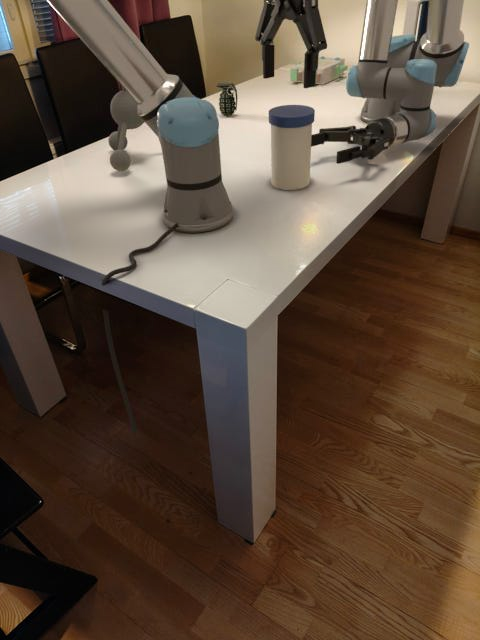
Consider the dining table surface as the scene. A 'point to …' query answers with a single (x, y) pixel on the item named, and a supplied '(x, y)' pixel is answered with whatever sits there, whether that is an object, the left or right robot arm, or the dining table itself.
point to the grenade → (227, 99)
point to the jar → (290, 157)
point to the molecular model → (123, 128)
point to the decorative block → (321, 70)
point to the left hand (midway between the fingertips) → (288, 82)
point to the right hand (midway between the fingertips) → (319, 150)
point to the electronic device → (416, 18)
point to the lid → (291, 116)
